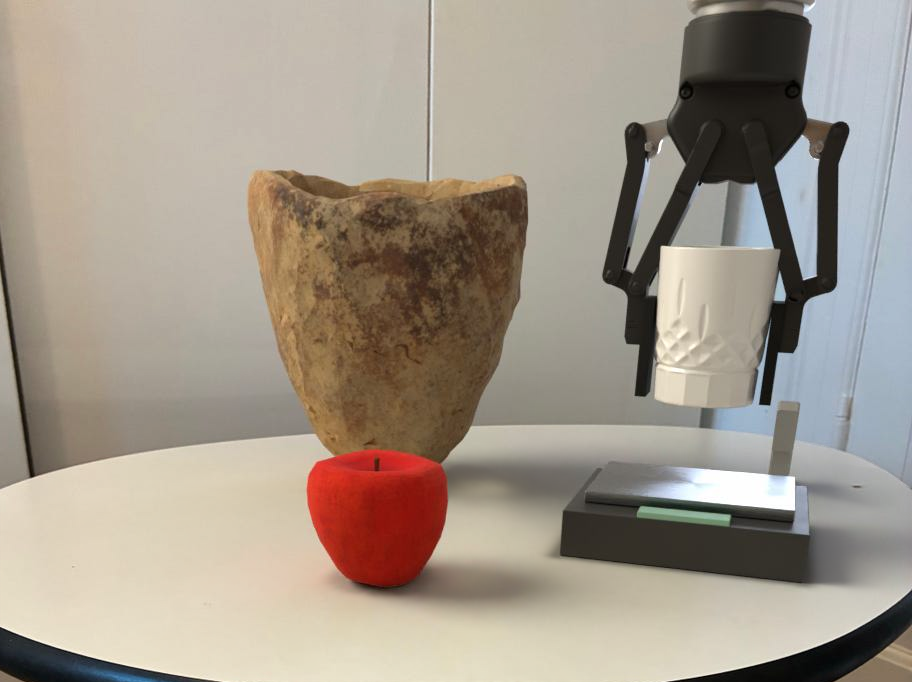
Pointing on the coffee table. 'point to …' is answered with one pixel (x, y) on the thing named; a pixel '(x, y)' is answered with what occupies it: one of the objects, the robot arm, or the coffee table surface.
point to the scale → (688, 538)
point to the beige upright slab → (784, 438)
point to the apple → (378, 513)
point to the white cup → (712, 323)
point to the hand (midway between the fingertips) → (702, 397)
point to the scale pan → (695, 490)
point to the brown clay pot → (389, 300)
